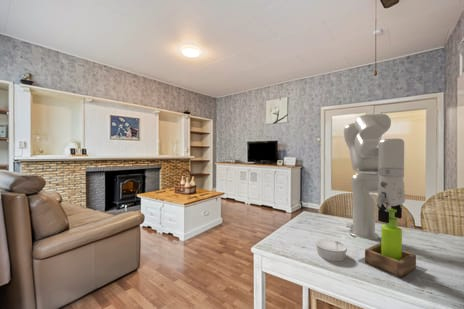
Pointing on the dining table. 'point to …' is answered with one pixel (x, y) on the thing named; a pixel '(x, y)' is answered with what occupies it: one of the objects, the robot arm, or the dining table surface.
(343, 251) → the ramekin
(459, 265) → the dining table surface
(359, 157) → the robot arm
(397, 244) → the soap dispenser
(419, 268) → the pale grey square slab
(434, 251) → the dining table surface
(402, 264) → the walnut box
